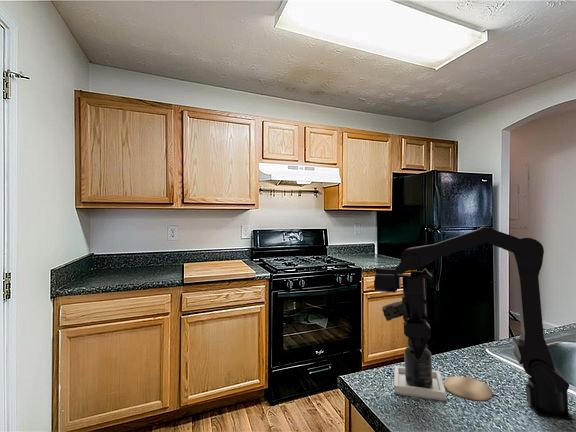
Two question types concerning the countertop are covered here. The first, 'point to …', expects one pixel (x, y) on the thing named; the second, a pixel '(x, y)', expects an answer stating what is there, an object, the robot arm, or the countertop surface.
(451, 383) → the cork coaster
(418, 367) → the supplement bottle
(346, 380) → the countertop surface
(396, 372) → the white tray
